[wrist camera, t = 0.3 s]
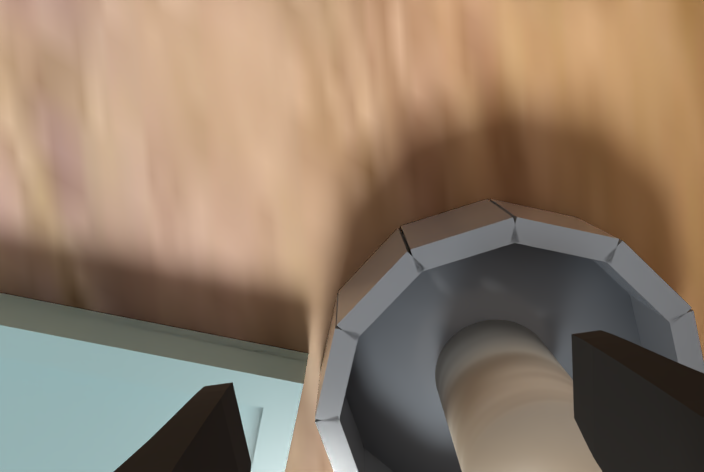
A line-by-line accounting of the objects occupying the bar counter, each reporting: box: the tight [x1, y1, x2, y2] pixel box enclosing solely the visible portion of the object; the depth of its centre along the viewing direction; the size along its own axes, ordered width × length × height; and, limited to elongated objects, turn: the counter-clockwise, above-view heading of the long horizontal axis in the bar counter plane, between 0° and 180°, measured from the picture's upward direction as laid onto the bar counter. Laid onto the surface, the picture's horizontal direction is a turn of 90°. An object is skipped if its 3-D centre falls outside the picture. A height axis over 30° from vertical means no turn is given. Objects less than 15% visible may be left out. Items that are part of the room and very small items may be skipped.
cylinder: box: [435, 320, 602, 472], centre depth 19 cm, size 4×4×6 cm
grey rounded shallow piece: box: [315, 199, 704, 472], centre depth 21 cm, size 13×13×4 cm
